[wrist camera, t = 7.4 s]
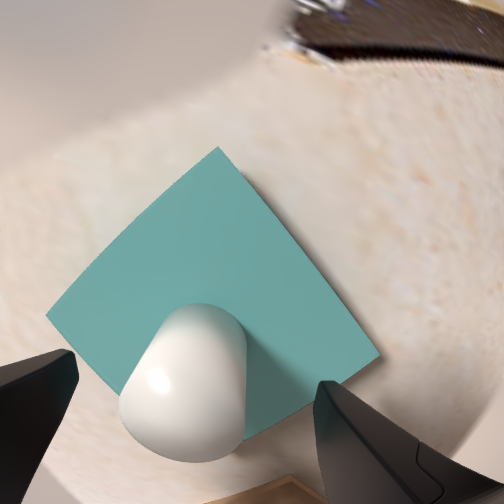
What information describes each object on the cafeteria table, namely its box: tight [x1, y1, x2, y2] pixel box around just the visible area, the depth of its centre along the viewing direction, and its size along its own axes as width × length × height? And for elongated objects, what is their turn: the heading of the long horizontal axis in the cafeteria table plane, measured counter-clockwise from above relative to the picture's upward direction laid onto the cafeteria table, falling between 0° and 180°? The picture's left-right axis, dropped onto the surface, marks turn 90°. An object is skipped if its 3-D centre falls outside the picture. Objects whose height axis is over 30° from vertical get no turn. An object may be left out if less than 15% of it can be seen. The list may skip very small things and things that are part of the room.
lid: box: [46, 147, 380, 463], centre depth 9 cm, size 9×9×6 cm
